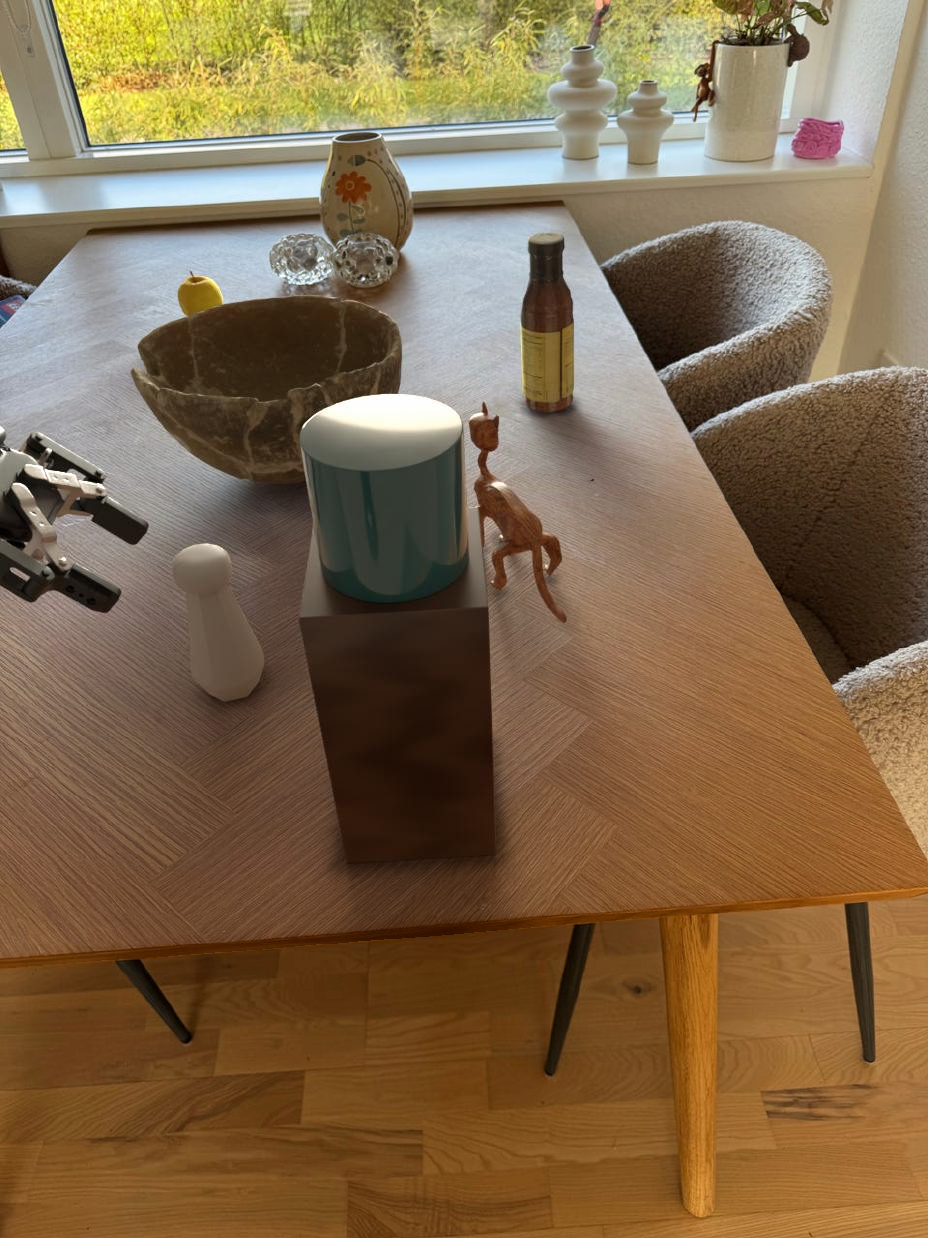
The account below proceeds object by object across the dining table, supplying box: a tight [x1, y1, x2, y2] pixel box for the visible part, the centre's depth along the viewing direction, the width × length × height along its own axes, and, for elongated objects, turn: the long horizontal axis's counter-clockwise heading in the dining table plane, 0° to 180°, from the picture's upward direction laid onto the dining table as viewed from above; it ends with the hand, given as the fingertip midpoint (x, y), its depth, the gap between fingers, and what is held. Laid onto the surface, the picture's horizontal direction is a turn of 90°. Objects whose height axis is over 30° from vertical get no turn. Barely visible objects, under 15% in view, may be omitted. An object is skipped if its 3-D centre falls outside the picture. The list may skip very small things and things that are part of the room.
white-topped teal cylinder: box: [299, 393, 469, 603], centre depth 51 cm, size 11×8×8 cm
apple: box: [177, 270, 224, 317], centre depth 135 cm, size 6×6×8 cm
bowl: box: [130, 294, 403, 485], centre depth 99 cm, size 28×27×15 cm
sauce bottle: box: [519, 231, 575, 414], centre depth 107 cm, size 6×6×20 cm
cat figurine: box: [468, 401, 568, 623], centre depth 81 cm, size 18×7×14 cm, turn 24°
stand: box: [297, 506, 497, 864], centre depth 59 cm, size 10×10×21 cm
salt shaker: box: [171, 542, 265, 703], centre depth 72 cm, size 6×6×13 cm
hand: (129, 567), depth 68 cm, fingers open, 8 cm apart
